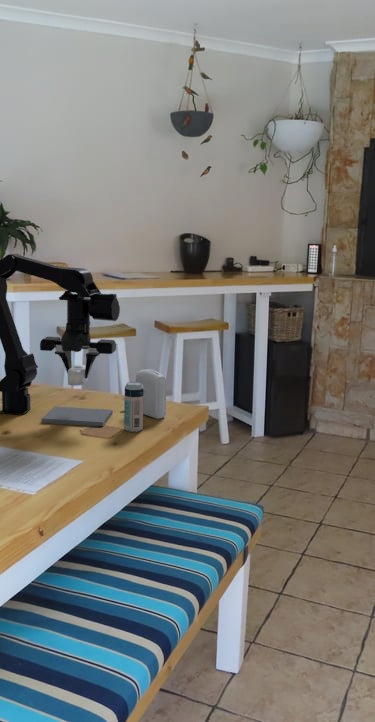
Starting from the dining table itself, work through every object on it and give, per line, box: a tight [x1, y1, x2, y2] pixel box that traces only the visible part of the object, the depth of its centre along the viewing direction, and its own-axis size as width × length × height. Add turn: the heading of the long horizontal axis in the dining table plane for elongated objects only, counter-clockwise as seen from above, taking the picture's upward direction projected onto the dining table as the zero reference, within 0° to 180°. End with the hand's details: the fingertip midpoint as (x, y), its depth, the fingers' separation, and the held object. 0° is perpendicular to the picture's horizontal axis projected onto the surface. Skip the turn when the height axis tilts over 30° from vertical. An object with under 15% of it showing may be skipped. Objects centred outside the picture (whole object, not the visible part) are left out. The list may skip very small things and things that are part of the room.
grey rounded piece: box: [67, 364, 89, 387], centre depth 181 cm, size 4×11×4 cm, turn 174°
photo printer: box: [135, 368, 167, 420], centre depth 187 cm, size 10×4×12 cm, turn 39°
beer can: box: [123, 381, 144, 433], centre depth 173 cm, size 5×5×12 cm
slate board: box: [41, 406, 114, 427], centre depth 182 cm, size 16×12×1 cm
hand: (78, 377), depth 180 cm, fingers closed on grey rounded piece, 4 cm apart
